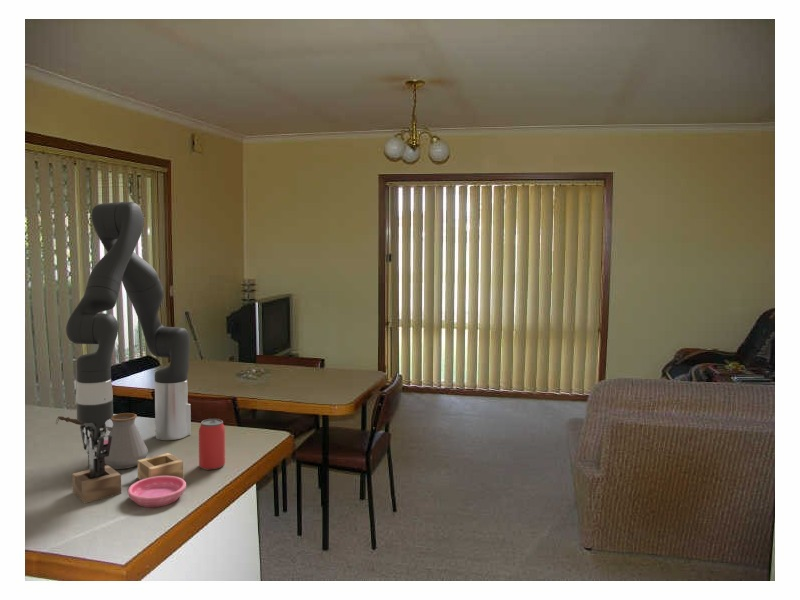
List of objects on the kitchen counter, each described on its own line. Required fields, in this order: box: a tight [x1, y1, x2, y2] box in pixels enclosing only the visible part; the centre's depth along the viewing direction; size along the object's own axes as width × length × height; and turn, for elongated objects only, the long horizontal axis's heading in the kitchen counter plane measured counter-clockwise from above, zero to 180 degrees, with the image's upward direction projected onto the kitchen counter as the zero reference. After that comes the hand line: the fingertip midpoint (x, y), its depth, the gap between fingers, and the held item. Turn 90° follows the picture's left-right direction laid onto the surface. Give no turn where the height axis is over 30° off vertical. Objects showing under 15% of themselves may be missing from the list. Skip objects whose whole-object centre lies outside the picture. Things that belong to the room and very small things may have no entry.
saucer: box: [127, 476, 187, 508], centre depth 139 cm, size 12×12×3 cm
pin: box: [88, 443, 103, 479], centre depth 141 cm, size 3×3×10 cm
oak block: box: [137, 452, 184, 481], centre depth 150 cm, size 8×8×4 cm
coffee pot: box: [55, 412, 149, 470], centre depth 156 cm, size 21×12×15 cm, turn 123°
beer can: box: [198, 418, 226, 471], centre depth 159 cm, size 7×7×12 cm
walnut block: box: [71, 465, 122, 504], centre depth 141 cm, size 8×8×4 cm
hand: (96, 470), depth 141 cm, fingers closed on pin, 3 cm apart
